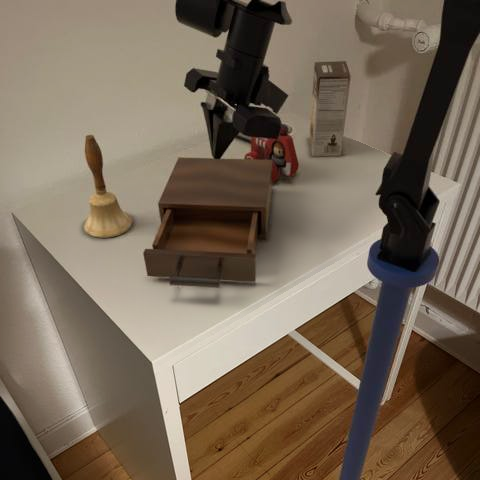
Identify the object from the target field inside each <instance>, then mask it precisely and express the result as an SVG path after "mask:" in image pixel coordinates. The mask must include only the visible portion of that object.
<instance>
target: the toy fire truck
mask: <svg viewBox="0 0 480 480" xmlns="http://www.w3.org/2000/svg"><path fill="white" fill-rule="evenodd" d="M288 133H289V126H288V124H285V123H282V128H281V131H280V134H279V137H278V139H270V138H259V137H251V143H250V151H249V152H247V153H245V155H244V158H243V159H255V160H273V183H274V182H276V181H278V179H279V176H280V175H281V174H282V175H283V176H286V177H288V178H290V177H293V176H294V177H295V175H296V174H297V172H298V170H299V166H300V162H299V159H298V155H297V152H296V151H297V150H296V147H295V144H294V139H293V136H291V135H290V134H288Z"/></svg>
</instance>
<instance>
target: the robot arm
mask: <svg viewBox="0 0 480 480" xmlns="http://www.w3.org/2000/svg"><path fill="white" fill-rule="evenodd" d="M174 8H175V9H174V11H175V13H174V14H175V17H176V18H175V19H176V20H177V22H178V23H179V24H181V25H184V26H186V27H188V28H191V29H193V30H196V31H198V32H200V33H202V34H206V35H207V36H210V37H212V38H214V39H215V38H219V37H220V36H221V35H222V34H223V33H224V34H225V33H227V36H226V40H225V43H224V47H223V49H221V48H220V49H219V48H217V49H216V54H215V58H217V59H218V60H220V63H219V67H218V72H217V71H212V70H206V69H203V68H202V69H201V68H196V67H192V68H191V69H190V70H189V71H187V72H186V74H185V79H184V83H183V87H185V89H186V90H188V91H189V92H190V93H193V94H194V93H196V92H197V91H199V89H200V90H205V92H206V93H207V94H206V98H205V101H201V102H200V107H201V109H202V112H203V116H204V121H205V125H206V131H207V135H208V141H209V147H210V153H211V157H212V158H214V159H222V157H223V156H224V154H225V153H226V151H227V150H228V149H229V147H230V146H231V144H232V142H233V141H234V140H235V138H237V137H236V136H237V135H238V134H239V133H242V134H243V135H246V136H248V137H259V138H270V139H278V137H279V134H280V131H281V128H282V124H283V122H282V119H281V117H279V116H278V114H279V112H280V110H281V109H282V107H283V106H284V104H285V102H286V101H287V99H288V97H289V94H288V93H286V92H285V91H284V90H283V89H282V88H280V87H279V86H277V84H275V83H274V82H272V81H271V80H270V70H269V69H270V68H269V66H268V65H266V64H264V62H265V59H266V56H267V53H268V49H269V45H270V42H271V38H272V35H273V32H274V28H275V25H276V24H278V25H280V26H290V25H292V23H293V19H292V17H291V15H290V13H289V12H288V9H287V3H286V1H283V0H278V1H277V2H276V3H274V4H273V3H270V2H268V1H265V0H250V1H248V3H247V2H245V1H242V0H175V7H174ZM479 36H480V0H443V6H442V10H441V19H440V31H439V39H438V40H439V41H438V46H437V49H436V52H435V55H434V58H433V61H432V63H431V67H430V71H429V73H428V77H427V79H426V82H425V85H424V88H423V92H422V95H421V98H420V101H419V104H418V107H417V109H416V114H415V116H414V119H413V122H412V125H411V127H410V131H409V134H408V137H407V140H406V142H405V147H404V149H403V153H402V154H401V153H399V152H397V151H392V153H391V156H390V157H389V159H388V160H387V162H386V164H385V165H384V168H383V171H382V175H381V182H380V185H379V187H377V190H376V192H375V196H379V198H378V208H379V209H380V210H381V212H382V214H383V215H384V216H386V221H387V223H386V224H385V225H384V226H383V227H382V231H381V237H380V239H381V241H380V246H379V248H380V249H381V251H380V252H379V253H378V255H377V259H379V260H382V261H384V262H387V263H390V264H393V265H395V266H398V267H401V268H404V269H406V270H409V271H412V272H416V271H417V270H418V269H419V268H420V266H421V265H422V264H423V263H424V261H425V260H426V259H427V257H428V256H429V255H430V253H431V250H430V249H429V247H430V246H431V243H432V239H433V235H434V233H435V228H436V225H437V223H436V222H433V221H434V219H435V216H436V214H437V210H438V208H439V206H440V203H441V201H440V199H439V198H438V196H437V195H436V194H435V192H434V190H433V189H432V188H431V187H430V181H431V175H432V169H433V162H434V151H435V148H436V145H437V142H438V140H439V137H440V134H441V132H442V129H443V127H444V124H445V122H446V119H447V117H448V114H449V111H450V108H451V105H452V103H453V100H454V97H455V94H456V91H457V89H458V86H459V84H460V81H461V78H462V76H463V73H464V70H465V68H466V65H467V62H468V60H469V57H470V55H471V52H472V49H473V46H474V44H475V43H476V41H477V39H478V37H479ZM253 105H254V106H253ZM262 105H263V106H264V107H261V106H262ZM269 108H270V109H271V110H270V109H269Z"/></svg>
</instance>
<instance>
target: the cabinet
mask: <svg viewBox="0 0 480 480" xmlns="http://www.w3.org/2000/svg"><path fill="white" fill-rule="evenodd" d="M273 183H274V182H273V160H255V159H244V158H220V159H214V158H213V157H212V158H211V157H183V156H182V157H181V156H180V157H178V158H177V160H176V163H175V164H174V166H173V169H172V171H171V173H170V175H169V178H168V180H167V181H166V185H165V187H164V189H163V191H162V193H161V196H160V197H159V201H158V202H157V207H158V212H159V218H160V219H159V220H160V223H161V222H162V220H163V217H164V215H165V213H166V210H167V208H185V209H211V210H237V211H260V219H259V220H260V223H259V230H258V236H257V240H266V239H267V234H268V233H267V232H268V226H269V218H270V211H271V210H270V209H271V203H272V195H273Z"/></svg>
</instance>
